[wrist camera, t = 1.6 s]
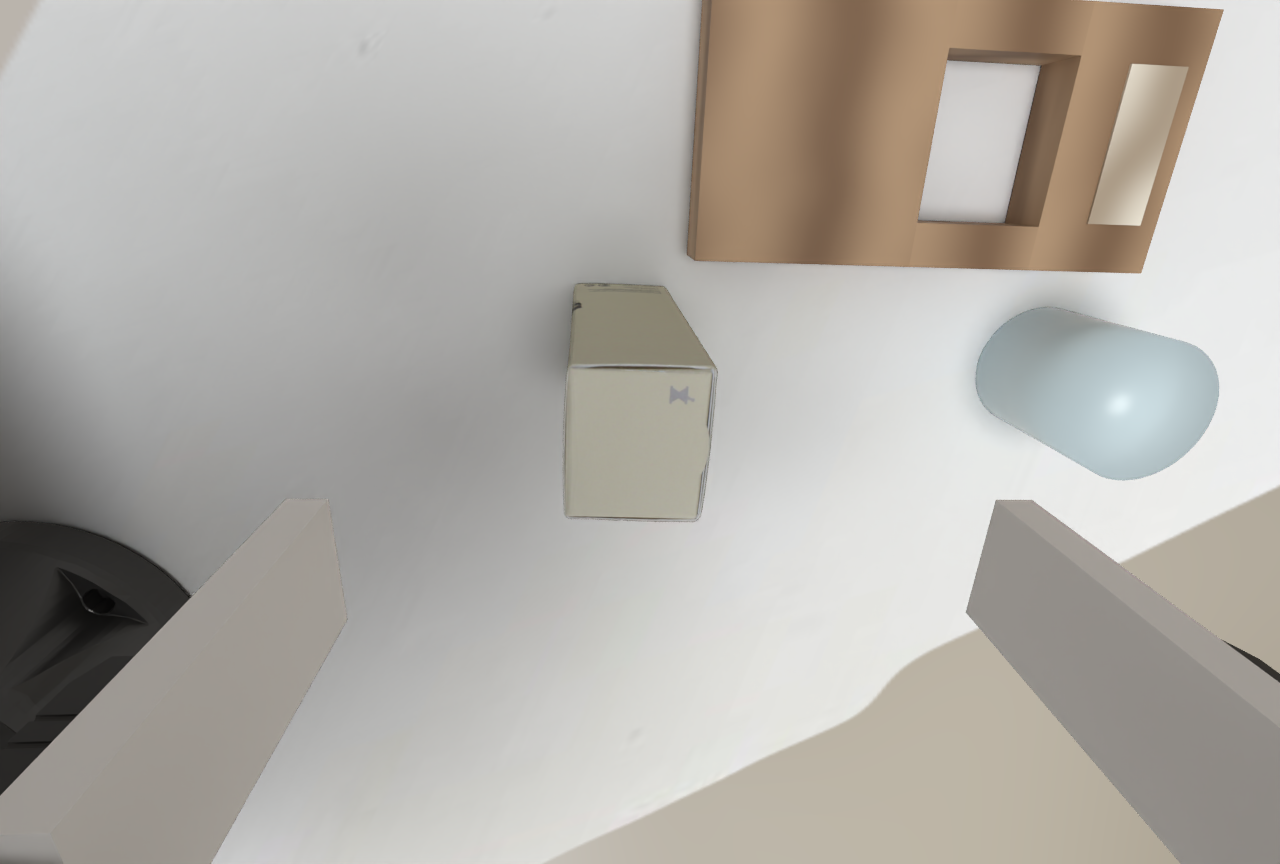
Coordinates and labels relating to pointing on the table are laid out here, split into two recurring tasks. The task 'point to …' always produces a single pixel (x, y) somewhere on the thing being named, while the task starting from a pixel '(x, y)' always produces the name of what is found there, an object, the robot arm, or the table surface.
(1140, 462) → the pale blue capsule
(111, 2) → the table surface
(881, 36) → the brown flat wooden slab
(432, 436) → the table surface
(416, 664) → the table surface
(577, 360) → the box
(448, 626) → the table surface
